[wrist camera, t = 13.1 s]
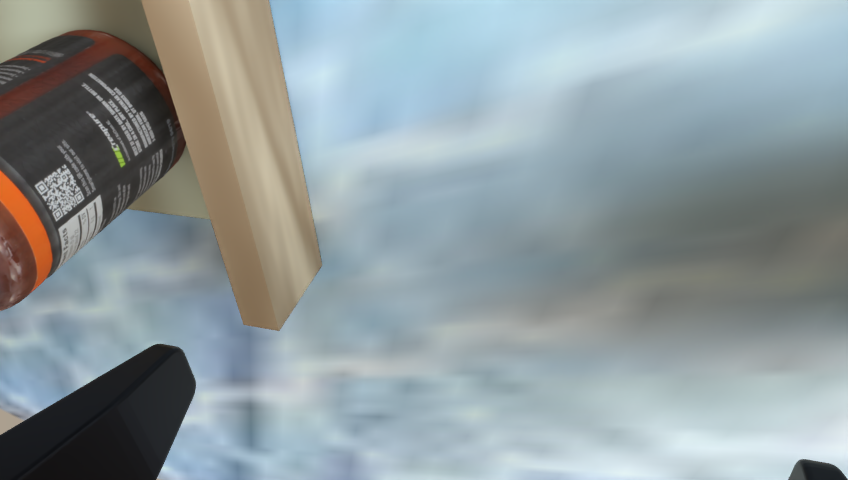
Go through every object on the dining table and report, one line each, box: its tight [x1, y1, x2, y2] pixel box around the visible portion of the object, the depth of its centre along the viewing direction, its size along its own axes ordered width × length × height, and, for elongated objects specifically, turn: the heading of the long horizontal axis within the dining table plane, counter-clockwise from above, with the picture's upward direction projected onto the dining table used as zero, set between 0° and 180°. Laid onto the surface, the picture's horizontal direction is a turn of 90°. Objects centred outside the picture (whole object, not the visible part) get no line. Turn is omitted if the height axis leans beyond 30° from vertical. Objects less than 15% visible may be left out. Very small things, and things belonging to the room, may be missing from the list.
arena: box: [0, 0, 322, 331], centre depth 23 cm, size 14×16×4 cm
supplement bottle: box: [0, 30, 186, 311], centre depth 20 cm, size 6×6×11 cm
